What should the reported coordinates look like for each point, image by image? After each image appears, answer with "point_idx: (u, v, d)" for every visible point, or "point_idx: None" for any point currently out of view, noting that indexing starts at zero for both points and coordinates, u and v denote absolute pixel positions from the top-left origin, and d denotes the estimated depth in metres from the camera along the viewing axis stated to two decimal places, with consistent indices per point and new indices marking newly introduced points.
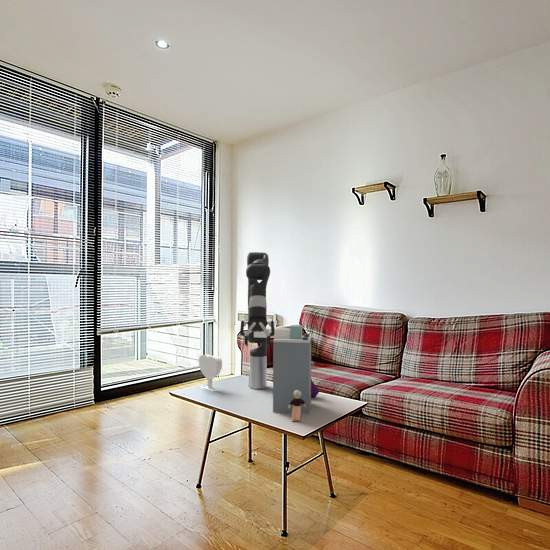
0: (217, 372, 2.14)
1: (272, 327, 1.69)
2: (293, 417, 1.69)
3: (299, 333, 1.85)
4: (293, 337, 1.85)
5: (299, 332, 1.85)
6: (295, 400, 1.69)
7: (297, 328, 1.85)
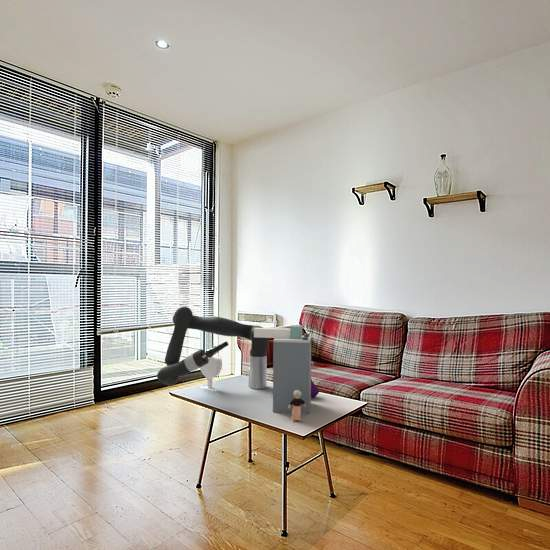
0: (217, 372, 2.14)
1: (209, 356, 1.87)
2: (293, 417, 1.69)
3: (299, 333, 1.85)
4: (293, 337, 1.85)
5: (299, 332, 1.85)
6: (295, 400, 1.69)
7: (297, 328, 1.85)
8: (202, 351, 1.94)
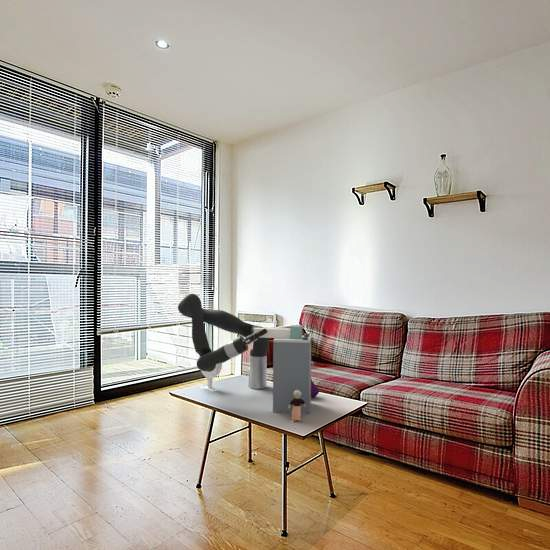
0: (217, 372, 2.14)
1: (252, 341, 1.85)
2: (293, 417, 1.69)
3: (299, 333, 1.85)
4: (293, 337, 1.85)
5: (299, 332, 1.85)
6: (295, 400, 1.69)
7: (297, 328, 1.85)
8: (242, 337, 1.91)
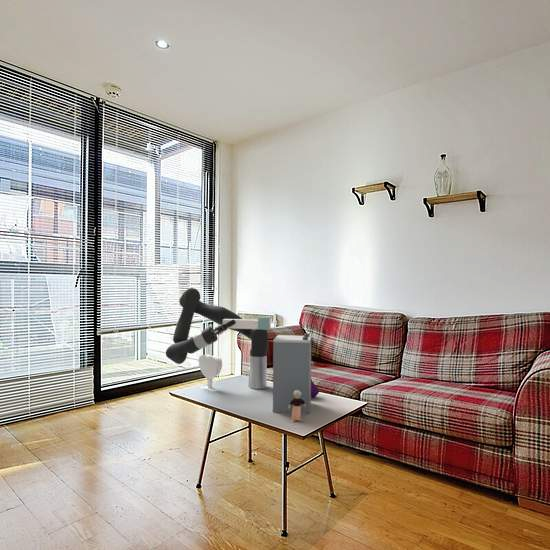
0: (217, 372, 2.14)
1: (220, 331, 1.87)
2: (293, 417, 1.69)
3: (267, 324, 1.87)
4: (261, 328, 1.87)
5: (267, 323, 1.87)
6: (295, 400, 1.69)
7: (265, 319, 1.87)
8: (211, 328, 1.93)
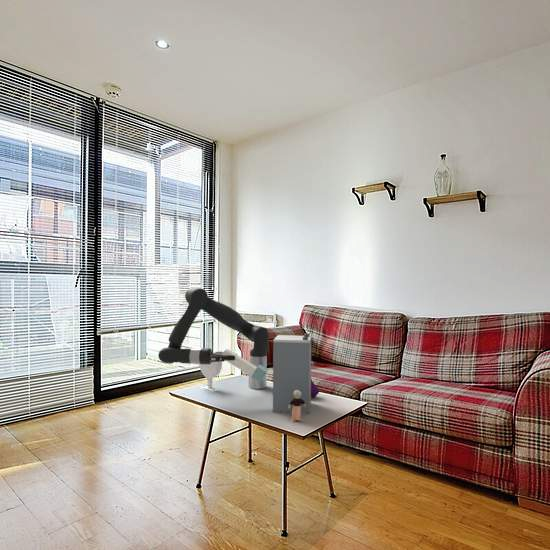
0: (217, 372, 2.14)
1: None
2: (293, 417, 1.69)
3: (261, 377, 1.86)
4: (254, 377, 1.87)
5: (262, 376, 1.86)
6: (295, 400, 1.69)
7: (262, 371, 1.86)
8: (210, 351, 1.93)
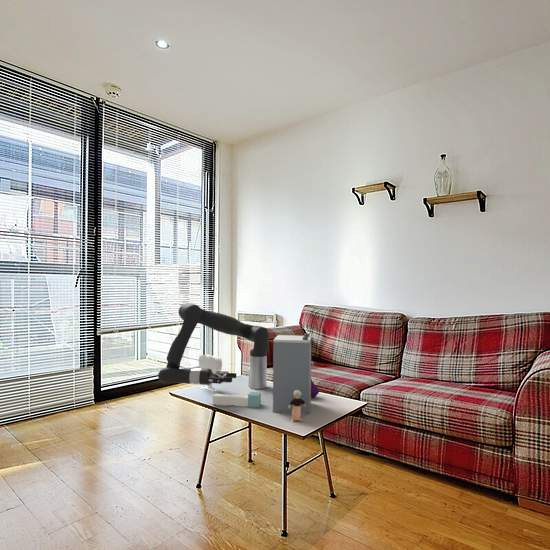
0: None
1: None
2: (293, 417, 1.69)
3: (257, 402, 1.87)
4: (251, 406, 1.87)
5: (257, 401, 1.87)
6: (295, 400, 1.69)
7: (255, 397, 1.87)
8: (210, 371, 1.93)
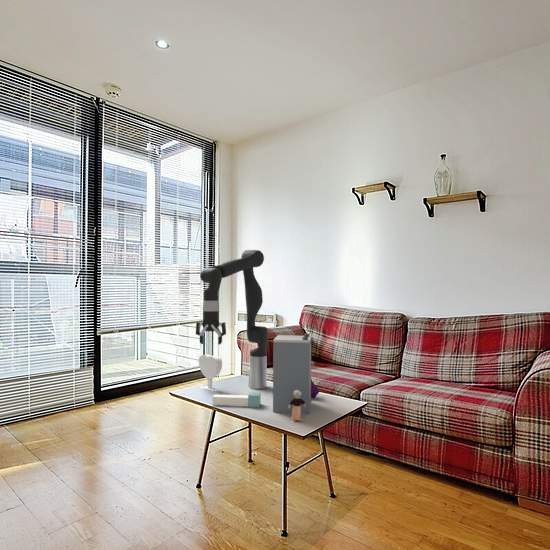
0: (217, 372, 2.14)
1: (222, 328, 1.91)
2: (293, 417, 1.69)
3: (257, 402, 1.87)
4: (251, 406, 1.87)
5: (257, 401, 1.87)
6: (295, 400, 1.69)
7: (255, 397, 1.87)
8: None
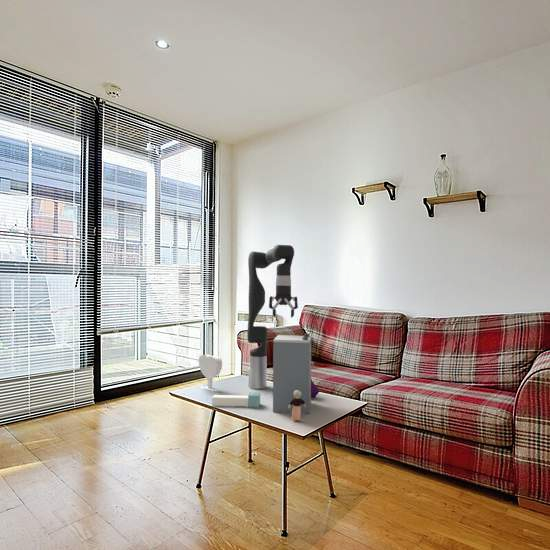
0: (217, 372, 2.14)
1: (295, 302, 2.01)
2: (293, 417, 1.69)
3: (257, 402, 1.87)
4: (251, 406, 1.87)
5: (257, 401, 1.87)
6: (295, 400, 1.69)
7: (255, 397, 1.87)
8: None
